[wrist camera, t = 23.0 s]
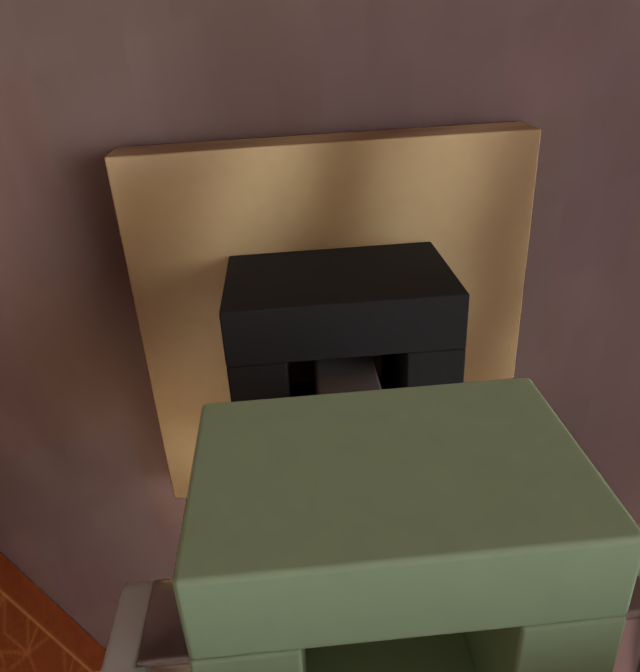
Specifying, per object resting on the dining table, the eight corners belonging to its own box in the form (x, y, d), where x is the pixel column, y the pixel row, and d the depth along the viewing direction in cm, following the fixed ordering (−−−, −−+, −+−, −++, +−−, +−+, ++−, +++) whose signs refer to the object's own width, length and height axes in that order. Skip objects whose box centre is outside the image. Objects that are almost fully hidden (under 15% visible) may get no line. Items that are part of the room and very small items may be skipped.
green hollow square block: (529, 374, 11) (651, 538, 8) (501, 600, 14) (580, 796, 10) (201, 401, 11) (169, 584, 7) (238, 626, 14) (227, 837, 10)
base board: (522, 120, 18) (700, 190, 11) (490, 444, 24) (593, 641, 16) (115, 146, 18) (1, 238, 10) (180, 471, 23) (136, 687, 16)
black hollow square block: (431, 240, 18) (470, 293, 15) (425, 409, 21) (457, 488, 17) (228, 255, 18) (218, 313, 14) (249, 423, 21) (245, 506, 17)
